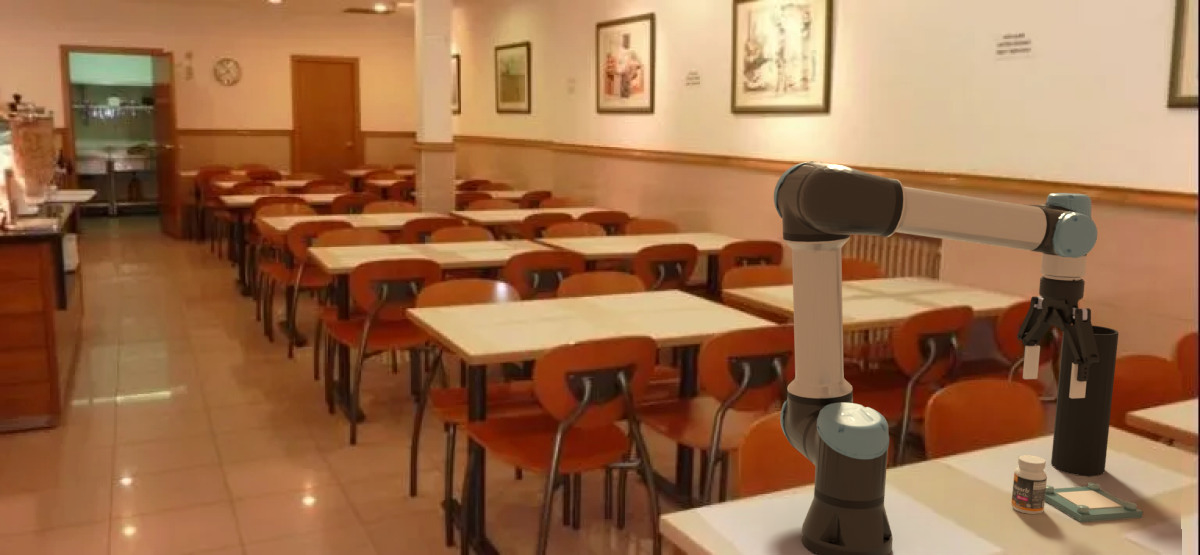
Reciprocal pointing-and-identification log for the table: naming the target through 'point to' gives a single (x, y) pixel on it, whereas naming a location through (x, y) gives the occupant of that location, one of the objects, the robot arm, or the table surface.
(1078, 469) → the vase
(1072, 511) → the plate
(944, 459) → the table surface
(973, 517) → the table surface
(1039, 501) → the pill bottle
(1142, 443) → the table surface
